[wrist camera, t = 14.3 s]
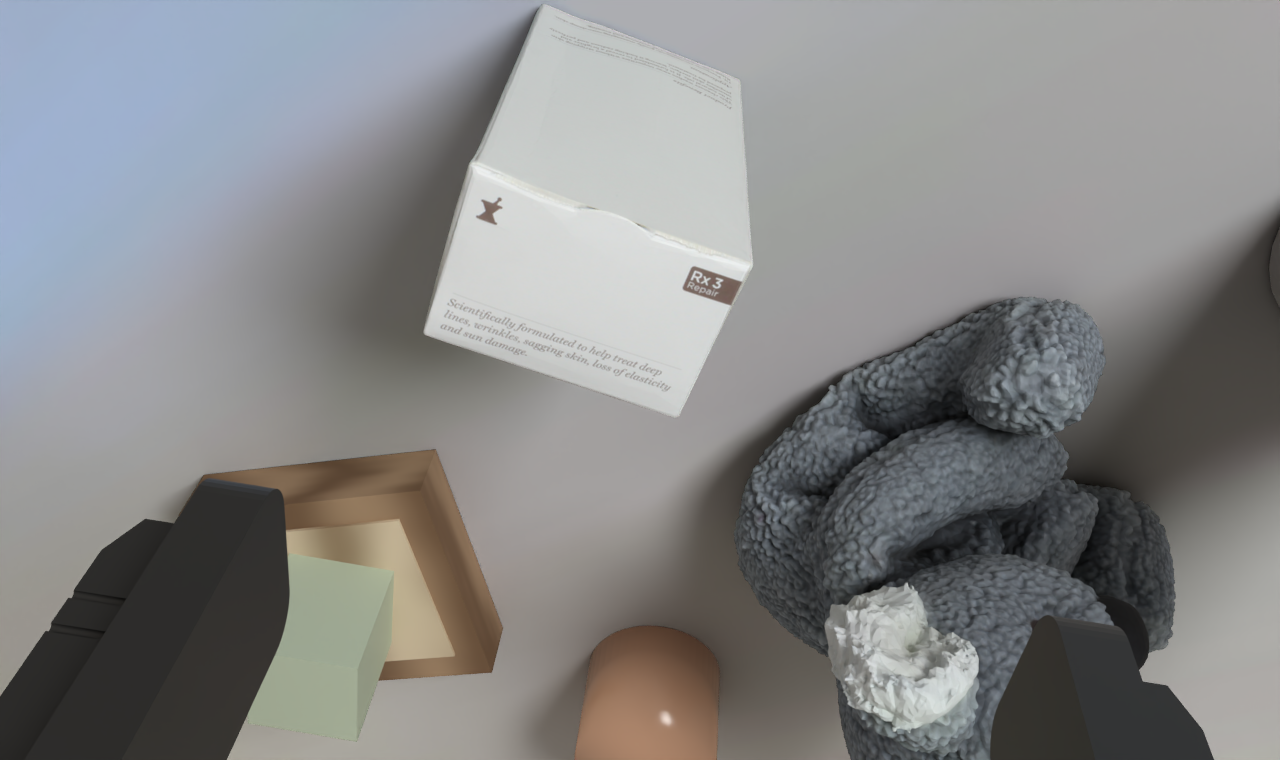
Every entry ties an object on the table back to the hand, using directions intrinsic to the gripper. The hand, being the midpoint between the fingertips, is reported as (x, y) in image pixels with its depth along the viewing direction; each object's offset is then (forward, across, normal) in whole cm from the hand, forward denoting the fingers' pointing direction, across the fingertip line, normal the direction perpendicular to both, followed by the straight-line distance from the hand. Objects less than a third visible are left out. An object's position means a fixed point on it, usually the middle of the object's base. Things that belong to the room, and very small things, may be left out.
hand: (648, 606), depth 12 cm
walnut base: (+33, +13, +34) cm, 49 cm away
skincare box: (+33, +3, +8) cm, 34 cm away
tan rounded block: (+33, -3, +39) cm, 51 cm away
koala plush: (+34, -13, +23) cm, 43 cm away
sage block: (+30, +13, +34) cm, 47 cm away
